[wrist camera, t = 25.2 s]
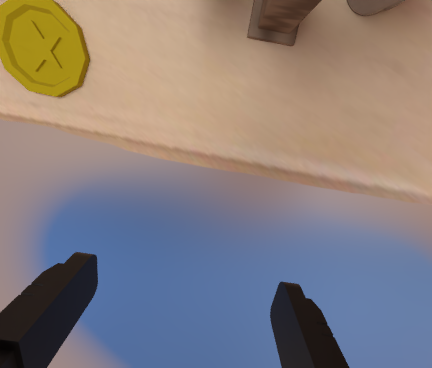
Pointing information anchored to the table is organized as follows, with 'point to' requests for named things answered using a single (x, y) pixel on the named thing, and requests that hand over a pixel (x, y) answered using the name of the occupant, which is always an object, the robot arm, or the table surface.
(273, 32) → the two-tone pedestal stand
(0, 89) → the table surface
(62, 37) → the decorative disc
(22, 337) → the robot arm
